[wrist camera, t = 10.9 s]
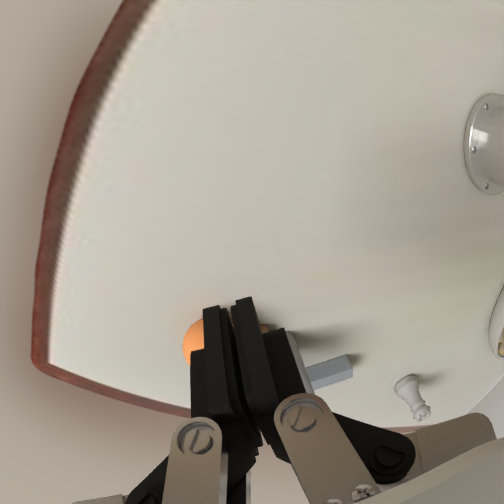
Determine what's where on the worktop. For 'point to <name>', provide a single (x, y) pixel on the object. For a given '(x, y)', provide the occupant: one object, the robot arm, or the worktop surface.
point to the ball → (193, 339)
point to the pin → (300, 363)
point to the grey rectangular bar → (329, 372)
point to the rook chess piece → (412, 396)
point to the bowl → (497, 328)
